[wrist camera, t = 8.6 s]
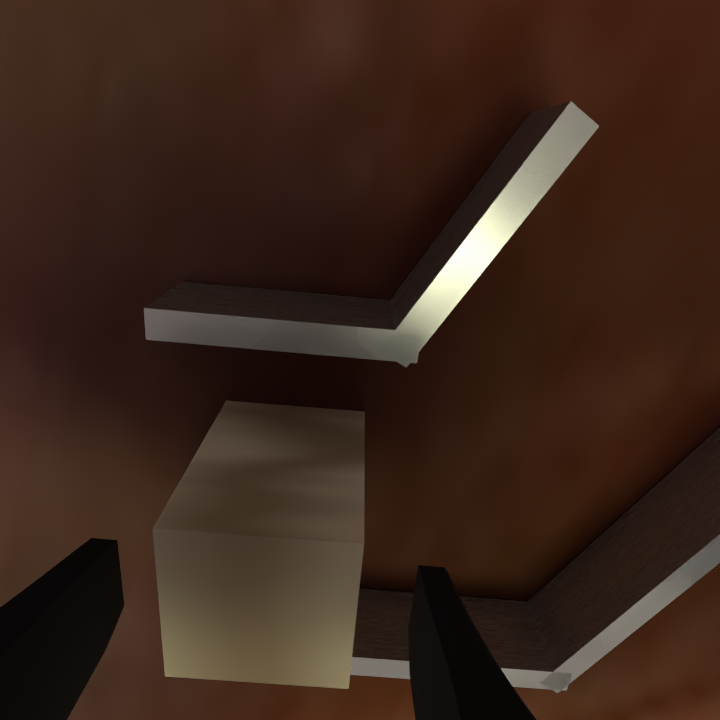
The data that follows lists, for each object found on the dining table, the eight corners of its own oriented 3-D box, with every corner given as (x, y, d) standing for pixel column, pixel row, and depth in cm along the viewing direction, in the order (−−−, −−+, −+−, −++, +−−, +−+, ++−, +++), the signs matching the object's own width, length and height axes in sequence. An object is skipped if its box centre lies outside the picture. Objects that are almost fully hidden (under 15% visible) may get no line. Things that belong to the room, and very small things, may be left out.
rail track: (771, -6, 12) (883, -50, 9) (847, 521, 18) (931, 585, 15) (19, 360, 16) (-50, 401, 13) (277, 701, 21) (265, 777, 19)
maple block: (365, 410, 16) (363, 543, 11) (353, 522, 18) (348, 689, 12) (226, 400, 16) (152, 528, 11) (228, 513, 18) (165, 676, 12)
